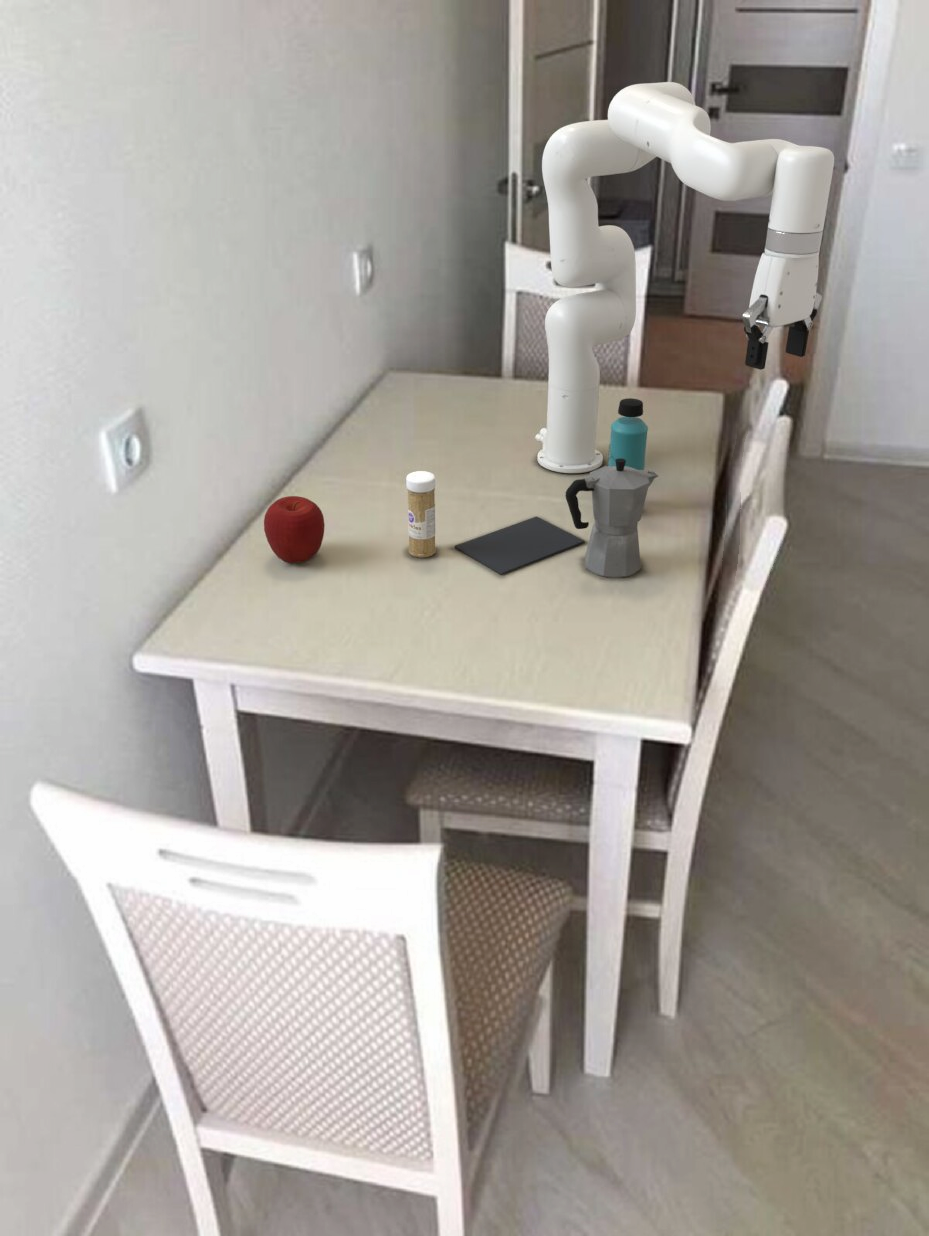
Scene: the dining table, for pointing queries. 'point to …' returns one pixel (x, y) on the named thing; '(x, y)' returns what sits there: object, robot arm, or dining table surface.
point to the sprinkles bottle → (421, 513)
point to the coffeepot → (612, 517)
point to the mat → (519, 545)
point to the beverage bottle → (629, 435)
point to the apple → (294, 528)
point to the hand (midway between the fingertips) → (775, 360)
